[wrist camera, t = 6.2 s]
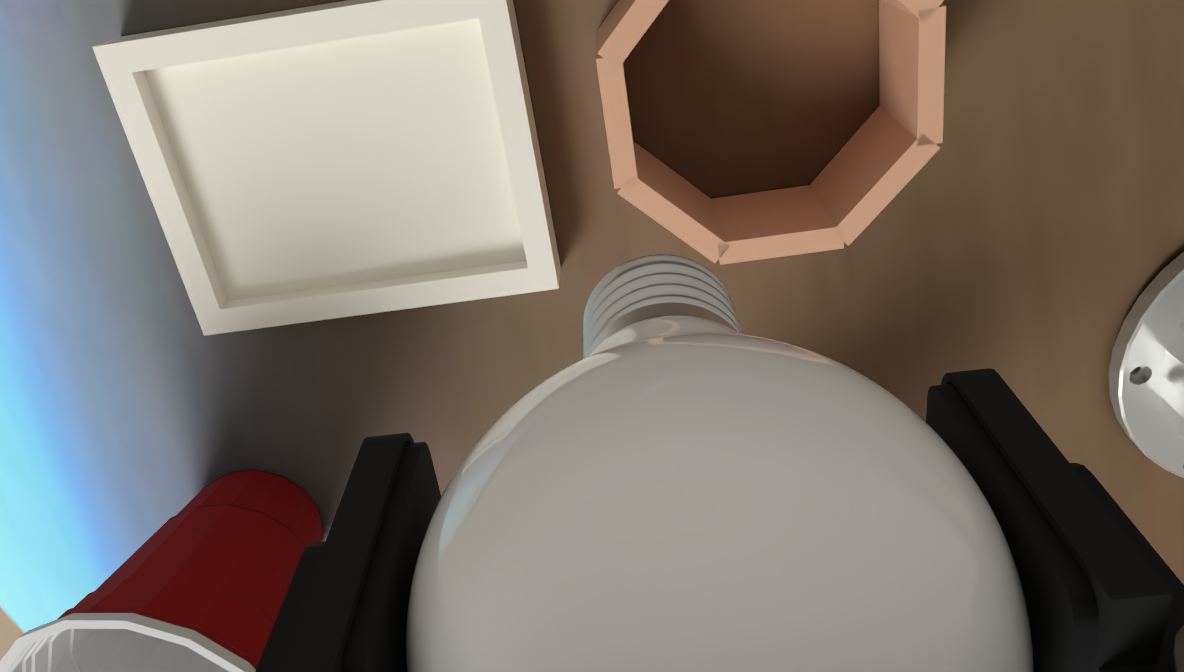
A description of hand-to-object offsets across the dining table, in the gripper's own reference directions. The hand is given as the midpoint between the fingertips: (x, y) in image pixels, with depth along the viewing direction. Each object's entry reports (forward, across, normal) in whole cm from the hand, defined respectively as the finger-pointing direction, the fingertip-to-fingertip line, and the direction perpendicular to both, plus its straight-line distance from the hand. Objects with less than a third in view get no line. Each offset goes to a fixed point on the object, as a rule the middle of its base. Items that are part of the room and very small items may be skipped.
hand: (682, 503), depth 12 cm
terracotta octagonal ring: (+24, -5, 0) cm, 24 cm away
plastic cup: (+24, +19, +18) cm, 36 cm away
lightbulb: (+6, 0, 0) cm, 6 cm away
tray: (+24, +10, +2) cm, 26 cm away
